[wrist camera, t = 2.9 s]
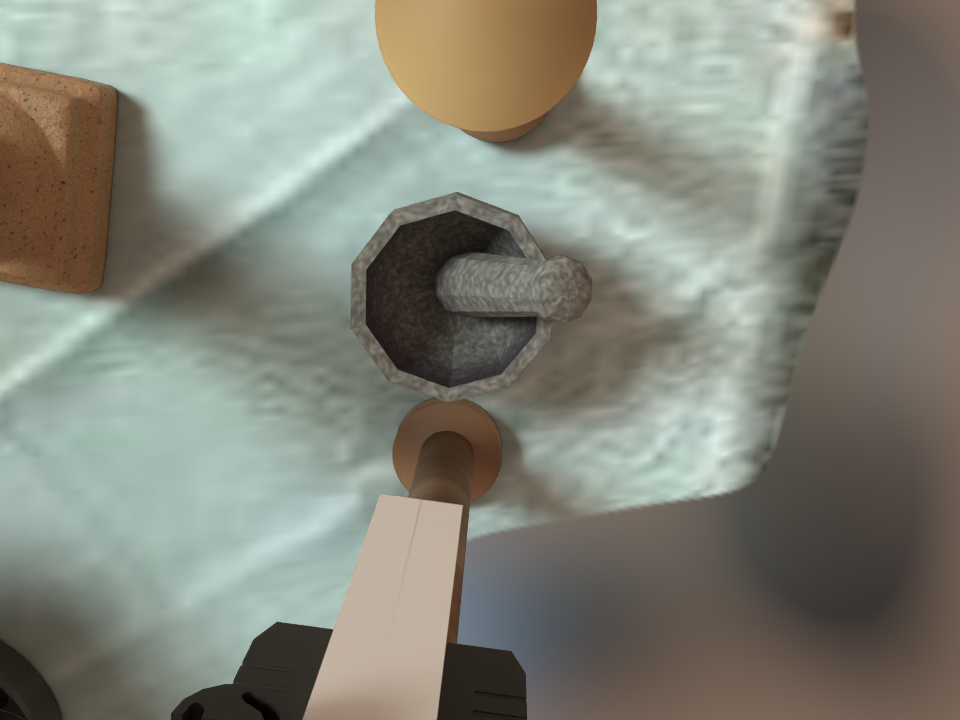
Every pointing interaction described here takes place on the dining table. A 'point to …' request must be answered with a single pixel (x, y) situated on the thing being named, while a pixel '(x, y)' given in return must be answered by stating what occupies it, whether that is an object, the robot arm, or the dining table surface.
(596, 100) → the dining table surface
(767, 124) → the dining table surface
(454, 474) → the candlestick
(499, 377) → the mortar and pestle
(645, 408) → the dining table surface
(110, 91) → the candle holder
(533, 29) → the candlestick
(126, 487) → the dining table surface
